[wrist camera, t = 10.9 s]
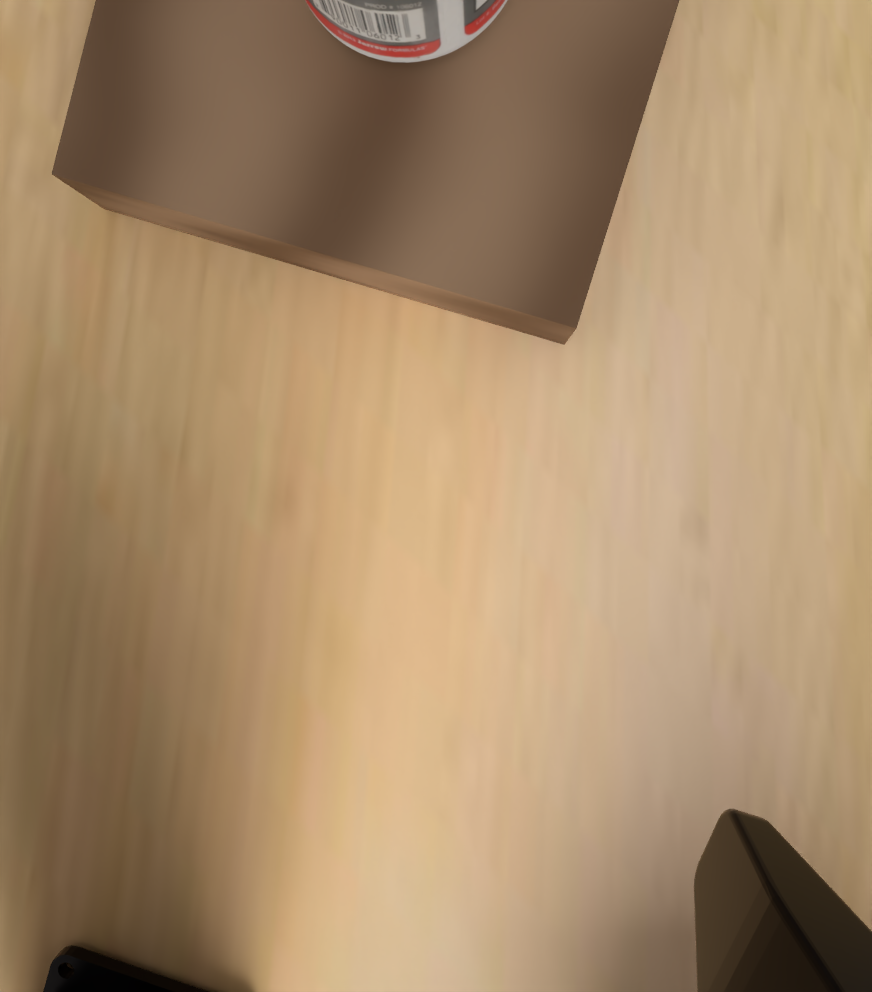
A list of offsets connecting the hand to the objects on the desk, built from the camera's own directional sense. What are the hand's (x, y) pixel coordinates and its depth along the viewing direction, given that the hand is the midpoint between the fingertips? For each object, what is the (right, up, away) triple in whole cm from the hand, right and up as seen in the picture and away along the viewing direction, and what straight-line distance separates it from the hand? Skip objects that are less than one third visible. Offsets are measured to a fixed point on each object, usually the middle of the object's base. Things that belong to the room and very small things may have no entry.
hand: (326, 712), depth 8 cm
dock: (0, +15, +12) cm, 19 cm away
